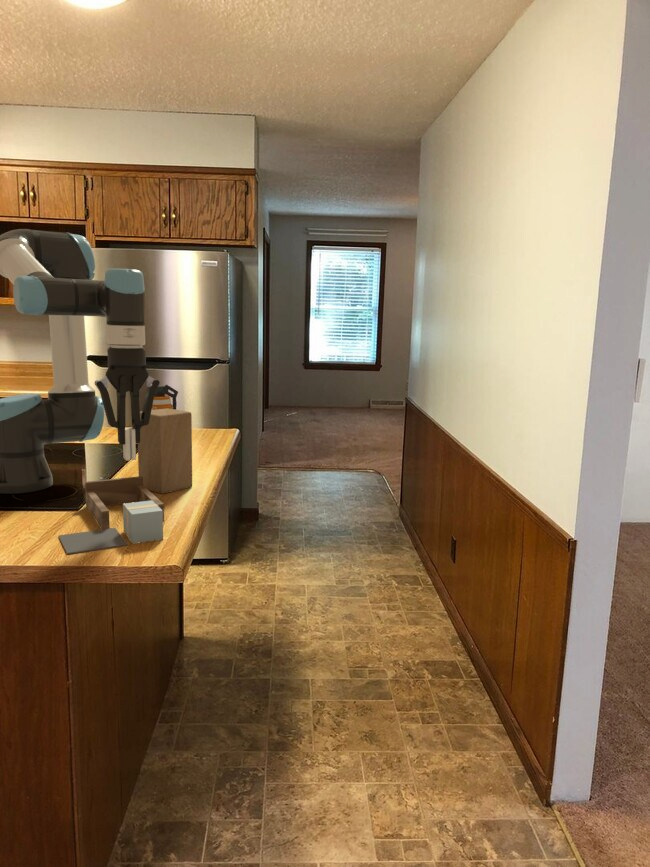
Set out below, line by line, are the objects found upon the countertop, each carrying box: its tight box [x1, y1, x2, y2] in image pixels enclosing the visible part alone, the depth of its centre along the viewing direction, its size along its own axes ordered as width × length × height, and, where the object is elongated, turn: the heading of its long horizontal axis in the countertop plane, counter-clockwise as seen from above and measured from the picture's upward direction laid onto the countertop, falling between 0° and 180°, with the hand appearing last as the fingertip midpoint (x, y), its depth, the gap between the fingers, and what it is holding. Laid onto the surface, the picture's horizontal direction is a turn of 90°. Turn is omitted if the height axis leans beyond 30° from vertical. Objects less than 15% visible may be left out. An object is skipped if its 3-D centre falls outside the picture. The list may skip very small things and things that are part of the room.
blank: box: [122, 500, 164, 544], centre depth 129 cm, size 8×6×6 cm
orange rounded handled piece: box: [152, 384, 179, 410], centre depth 229 cm, size 9×11×20 cm
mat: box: [58, 527, 128, 555], centre depth 125 cm, size 11×11×1 cm
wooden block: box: [137, 408, 193, 495], centre depth 165 cm, size 10×10×20 cm
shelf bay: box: [84, 475, 165, 530], centre depth 142 cm, size 18×13×6 cm
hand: (129, 458), depth 134 cm, fingers closed
